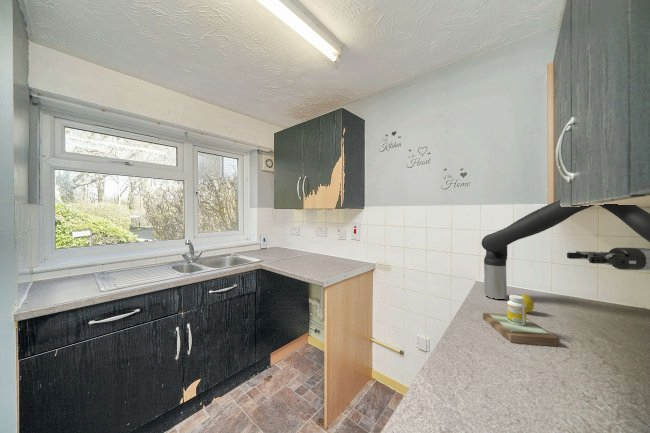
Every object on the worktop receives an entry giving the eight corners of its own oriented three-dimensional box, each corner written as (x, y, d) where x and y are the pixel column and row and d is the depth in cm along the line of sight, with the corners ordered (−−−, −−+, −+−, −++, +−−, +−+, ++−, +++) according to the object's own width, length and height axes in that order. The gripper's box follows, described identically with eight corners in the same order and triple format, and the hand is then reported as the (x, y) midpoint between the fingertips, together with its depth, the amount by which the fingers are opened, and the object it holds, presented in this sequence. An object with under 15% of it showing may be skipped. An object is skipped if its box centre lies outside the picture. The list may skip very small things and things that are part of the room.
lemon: (534, 316, 94) (534, 297, 94) (517, 313, 98) (517, 295, 98) (533, 312, 99) (532, 294, 99) (516, 309, 102) (516, 291, 102)
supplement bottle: (516, 326, 80) (516, 299, 80) (503, 319, 85) (503, 294, 85) (530, 325, 81) (530, 298, 81) (516, 318, 86) (515, 293, 86)
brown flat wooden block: (482, 318, 93) (482, 311, 93) (521, 321, 91) (521, 313, 91) (510, 342, 75) (510, 333, 75) (559, 346, 73) (559, 336, 73)
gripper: (611, 245, 84) (561, 244, 87) (661, 251, 70) (598, 250, 73) (612, 265, 84) (561, 263, 87) (661, 275, 70) (598, 273, 73)
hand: (578, 257), depth 80 cm, fingers open, 8 cm apart
